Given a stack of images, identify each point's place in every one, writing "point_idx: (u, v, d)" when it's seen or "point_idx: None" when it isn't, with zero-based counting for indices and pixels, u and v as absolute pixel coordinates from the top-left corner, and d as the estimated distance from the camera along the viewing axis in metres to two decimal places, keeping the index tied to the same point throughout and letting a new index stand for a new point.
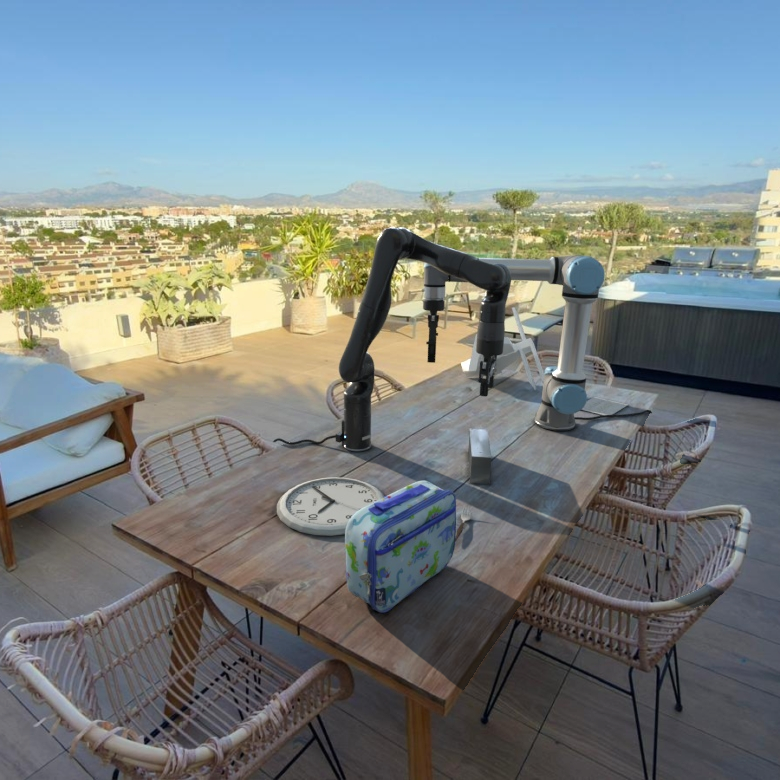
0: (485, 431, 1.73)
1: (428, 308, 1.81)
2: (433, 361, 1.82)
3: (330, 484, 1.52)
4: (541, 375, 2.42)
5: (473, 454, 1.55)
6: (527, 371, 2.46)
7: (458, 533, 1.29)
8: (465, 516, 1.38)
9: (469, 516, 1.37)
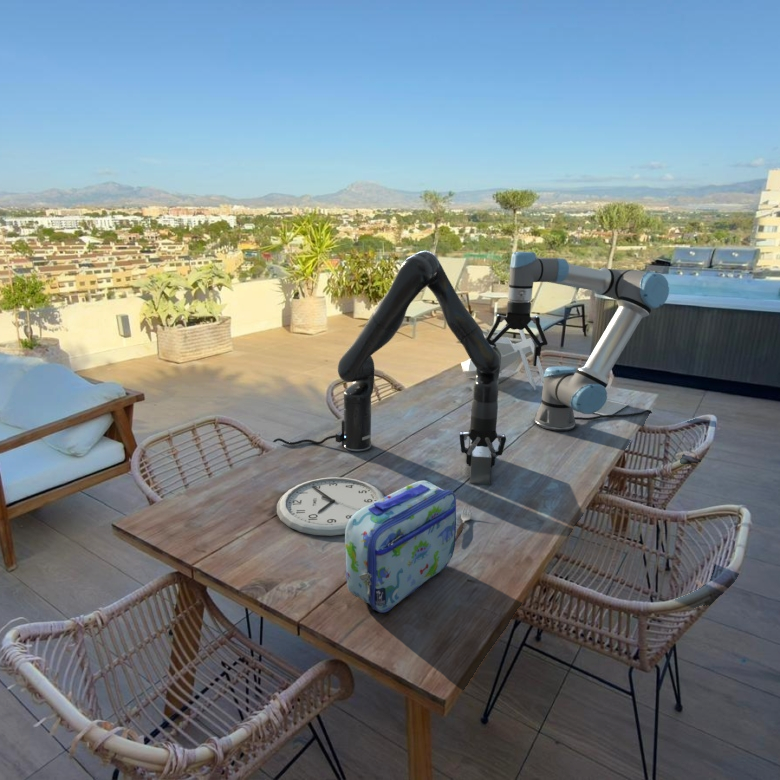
0: None
1: (529, 311, 1.69)
2: None
3: (330, 484, 1.52)
4: (541, 375, 2.42)
5: (473, 454, 1.55)
6: (527, 371, 2.46)
7: (458, 533, 1.29)
8: (465, 516, 1.38)
9: (469, 516, 1.37)
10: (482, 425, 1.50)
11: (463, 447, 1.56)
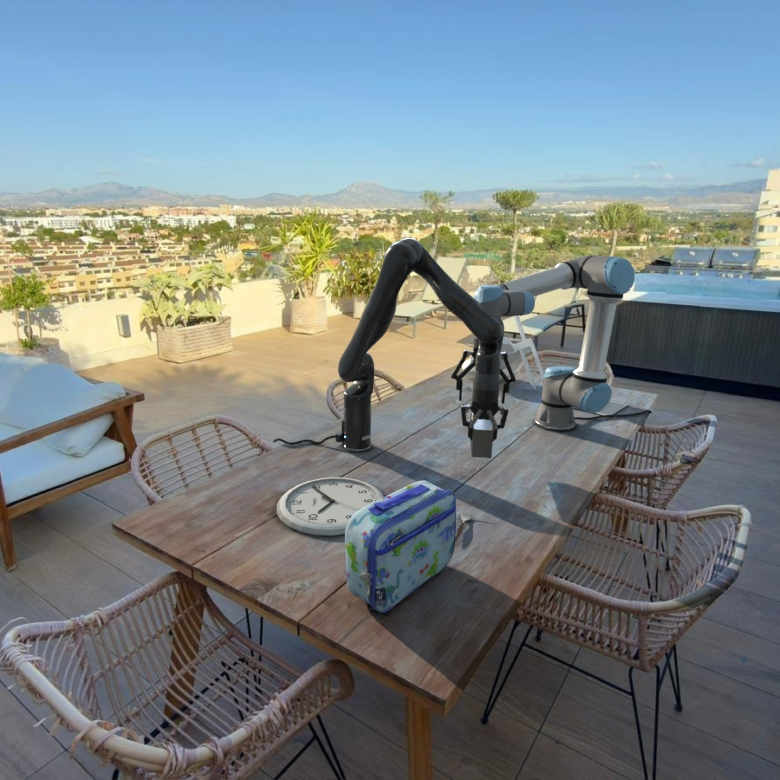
0: None
1: None
2: None
3: (330, 484, 1.52)
4: (541, 375, 2.42)
5: (475, 427, 1.53)
6: (527, 371, 2.46)
7: (458, 533, 1.29)
8: (465, 516, 1.38)
9: (469, 516, 1.37)
10: (484, 397, 1.48)
11: (464, 420, 1.53)
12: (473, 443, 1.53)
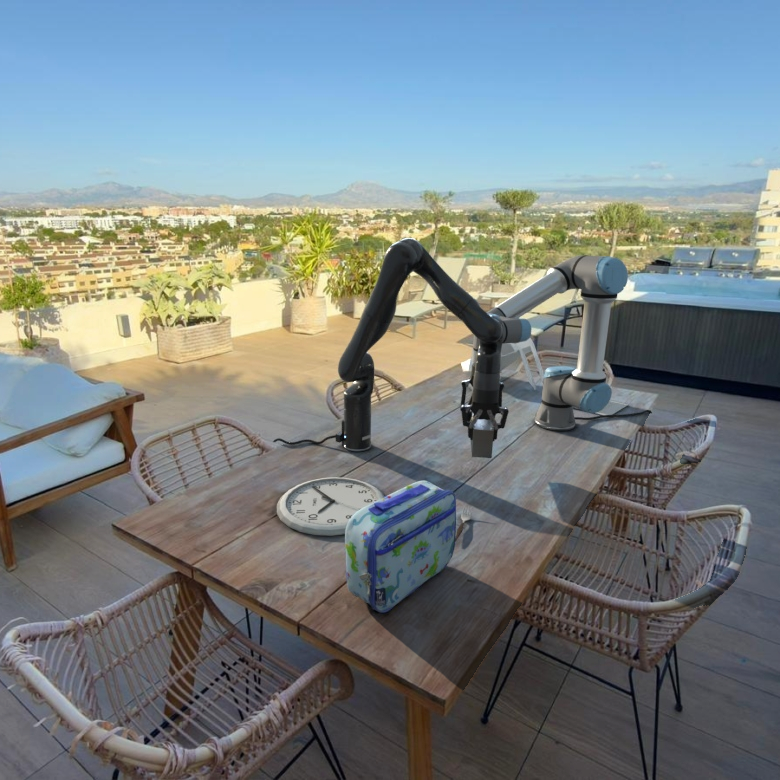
0: None
1: None
2: None
3: (330, 484, 1.52)
4: (541, 375, 2.42)
5: (475, 427, 1.53)
6: (527, 371, 2.46)
7: (458, 533, 1.29)
8: (465, 516, 1.38)
9: (469, 516, 1.37)
10: (484, 397, 1.48)
11: (465, 420, 1.53)
12: (473, 443, 1.53)
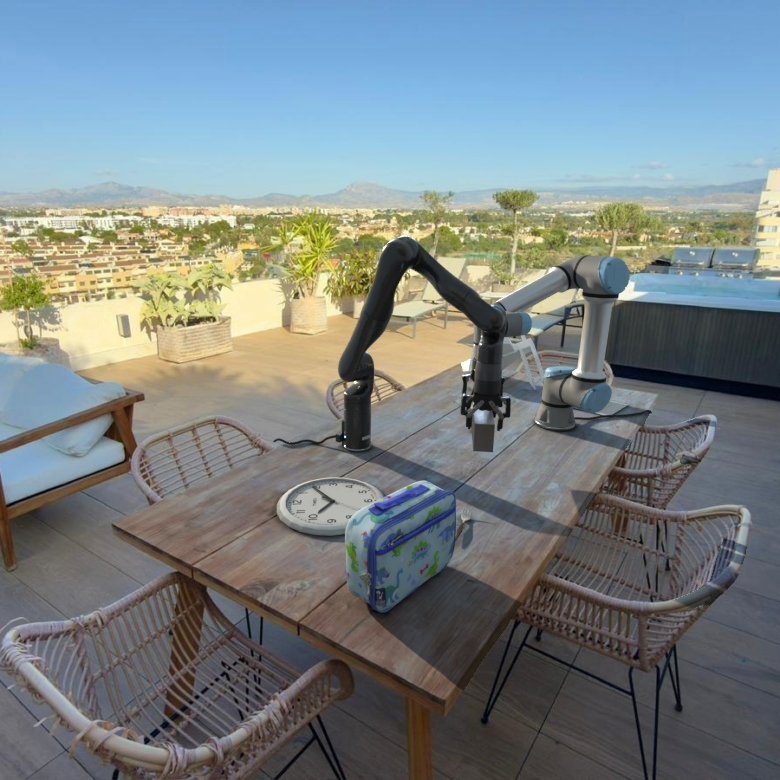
0: None
1: None
2: None
3: (330, 484, 1.52)
4: (541, 375, 2.42)
5: (476, 421, 1.52)
6: (527, 371, 2.46)
7: (458, 533, 1.29)
8: (465, 516, 1.38)
9: (469, 516, 1.37)
10: (486, 388, 1.46)
11: (463, 409, 1.51)
12: (474, 437, 1.52)
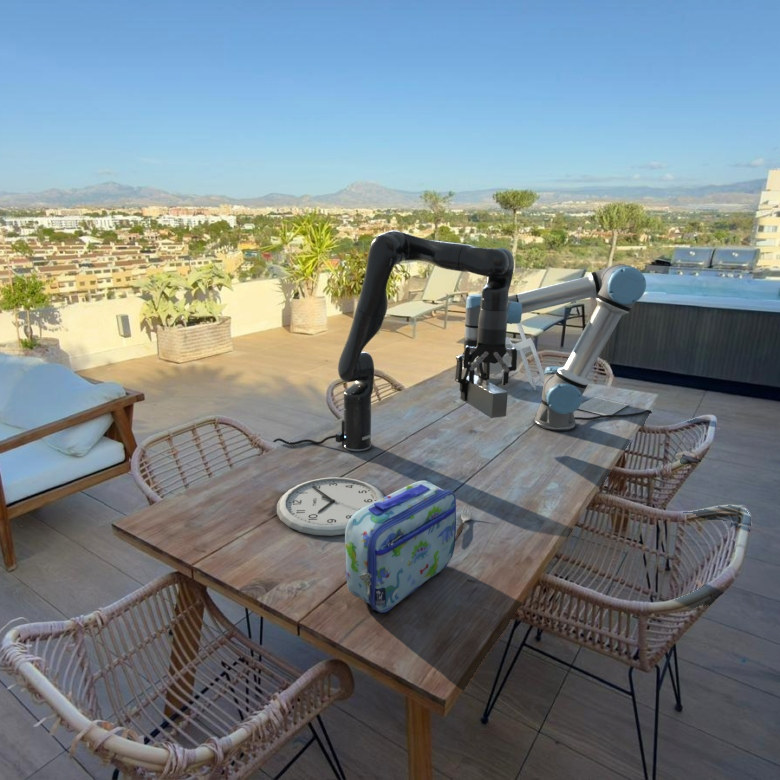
0: (475, 376, 1.95)
1: None
2: None
3: (330, 484, 1.52)
4: (541, 375, 2.42)
5: (492, 392, 1.77)
6: (527, 371, 2.46)
7: (458, 533, 1.29)
8: (465, 516, 1.38)
9: (469, 516, 1.37)
10: (490, 337, 1.37)
11: (466, 362, 1.42)
12: (493, 406, 1.77)
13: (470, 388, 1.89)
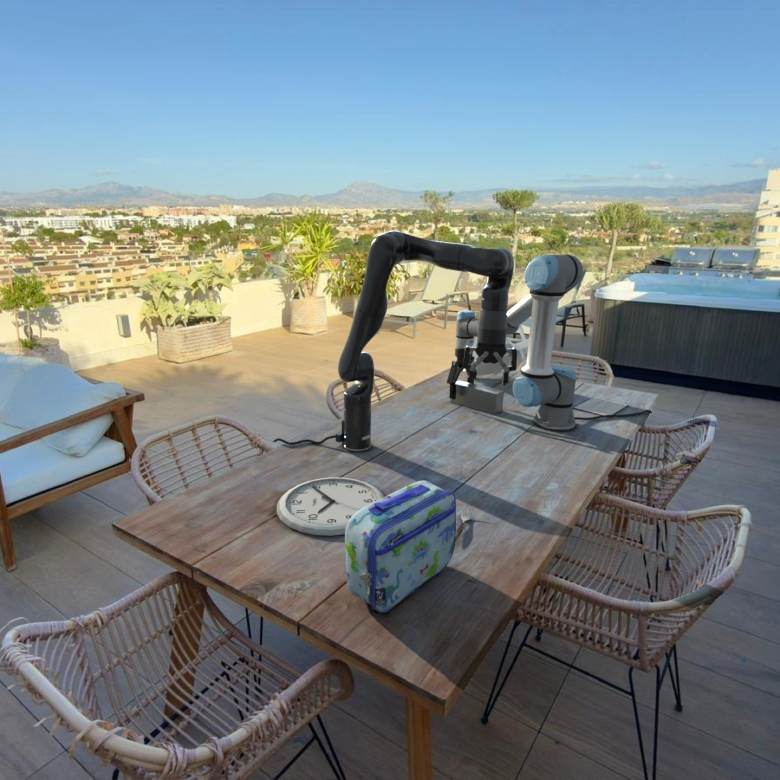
0: (461, 381, 2.29)
1: None
2: None
3: (330, 484, 1.52)
4: None
5: (494, 393, 2.14)
6: None
7: (458, 533, 1.29)
8: (465, 516, 1.38)
9: (469, 516, 1.37)
10: (490, 337, 1.37)
11: (466, 362, 1.42)
12: (496, 404, 2.14)
13: (465, 392, 2.22)
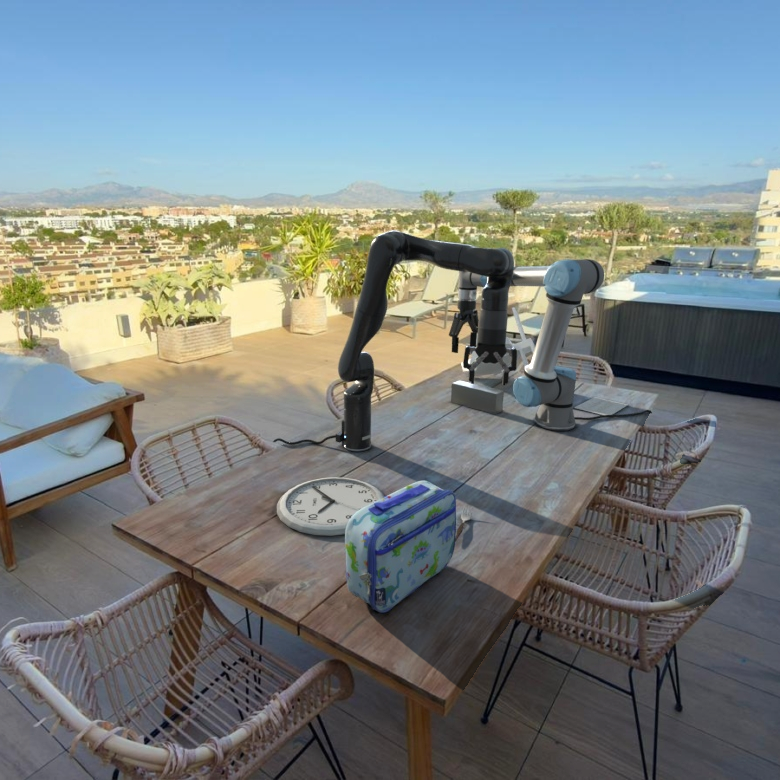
0: (461, 381, 2.29)
1: None
2: None
3: (330, 484, 1.52)
4: None
5: (494, 393, 2.14)
6: None
7: (458, 533, 1.29)
8: (465, 516, 1.38)
9: (469, 516, 1.37)
10: (490, 337, 1.37)
11: (466, 362, 1.42)
12: (496, 404, 2.14)
13: (465, 392, 2.22)
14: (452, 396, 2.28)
